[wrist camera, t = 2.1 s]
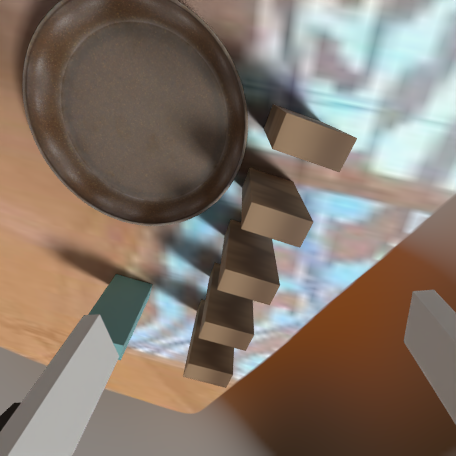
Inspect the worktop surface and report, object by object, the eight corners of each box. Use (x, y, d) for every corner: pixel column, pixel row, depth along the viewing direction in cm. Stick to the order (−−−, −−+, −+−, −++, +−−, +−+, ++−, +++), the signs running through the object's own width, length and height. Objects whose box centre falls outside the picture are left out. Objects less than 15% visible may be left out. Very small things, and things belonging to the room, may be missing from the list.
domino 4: (224, 235, 34) (217, 289, 25) (230, 219, 32) (225, 269, 24) (263, 247, 34) (269, 305, 25) (270, 231, 33) (279, 285, 24)
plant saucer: (205, 239, 34) (201, 254, 31) (36, 174, 32) (15, 183, 29) (284, 59, 25) (289, 55, 22) (56, -54, 22) (28, -75, 20)
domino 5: (209, 276, 36) (198, 337, 28) (214, 262, 35) (204, 321, 27) (245, 287, 37) (245, 350, 28) (251, 273, 36) (253, 335, 27)
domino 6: (197, 311, 39) (182, 376, 31) (201, 299, 38) (188, 363, 29) (230, 320, 40) (226, 387, 31) (235, 308, 39) (232, 374, 30)
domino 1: (113, 287, 38) (74, 348, 29) (116, 274, 37) (75, 333, 28) (149, 297, 39) (120, 360, 30) (152, 284, 38) (123, 345, 29)
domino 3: (242, 187, 31) (241, 229, 22) (249, 167, 30) (251, 202, 21) (284, 201, 31) (299, 247, 22) (293, 181, 30) (313, 222, 21)
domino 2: (263, 128, 28) (272, 148, 19) (272, 103, 27) (286, 112, 18) (309, 145, 28) (339, 172, 19) (320, 121, 27) (357, 138, 18)
